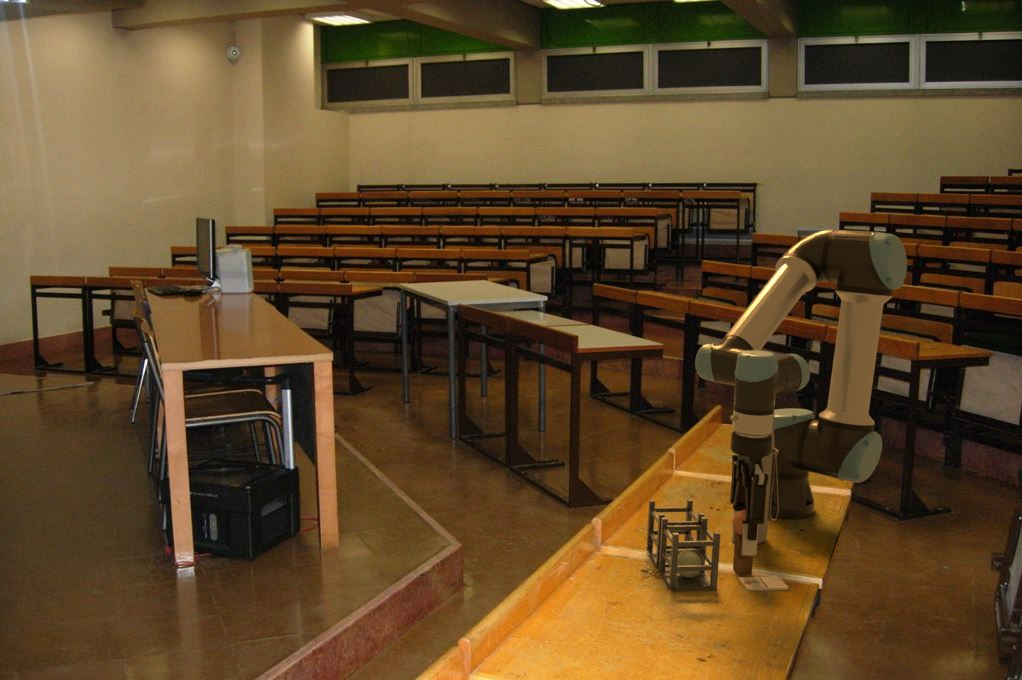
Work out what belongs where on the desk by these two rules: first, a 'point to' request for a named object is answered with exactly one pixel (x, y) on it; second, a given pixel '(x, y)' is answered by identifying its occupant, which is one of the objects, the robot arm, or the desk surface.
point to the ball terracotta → (739, 521)
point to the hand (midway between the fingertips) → (743, 548)
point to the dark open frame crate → (702, 578)
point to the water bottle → (768, 491)
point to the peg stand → (741, 558)
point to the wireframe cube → (651, 533)
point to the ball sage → (688, 563)
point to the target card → (763, 583)
